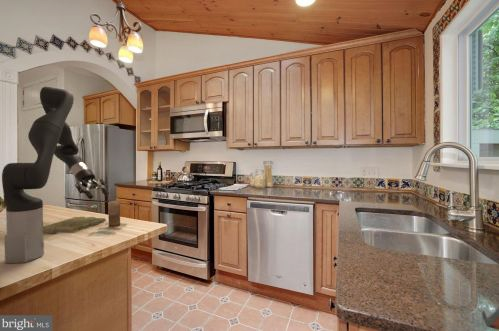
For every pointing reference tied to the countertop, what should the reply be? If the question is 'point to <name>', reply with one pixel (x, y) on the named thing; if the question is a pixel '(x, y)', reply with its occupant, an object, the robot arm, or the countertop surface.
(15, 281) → the countertop surface
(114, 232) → the birch board
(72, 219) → the decorative tile
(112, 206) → the walnut roller
